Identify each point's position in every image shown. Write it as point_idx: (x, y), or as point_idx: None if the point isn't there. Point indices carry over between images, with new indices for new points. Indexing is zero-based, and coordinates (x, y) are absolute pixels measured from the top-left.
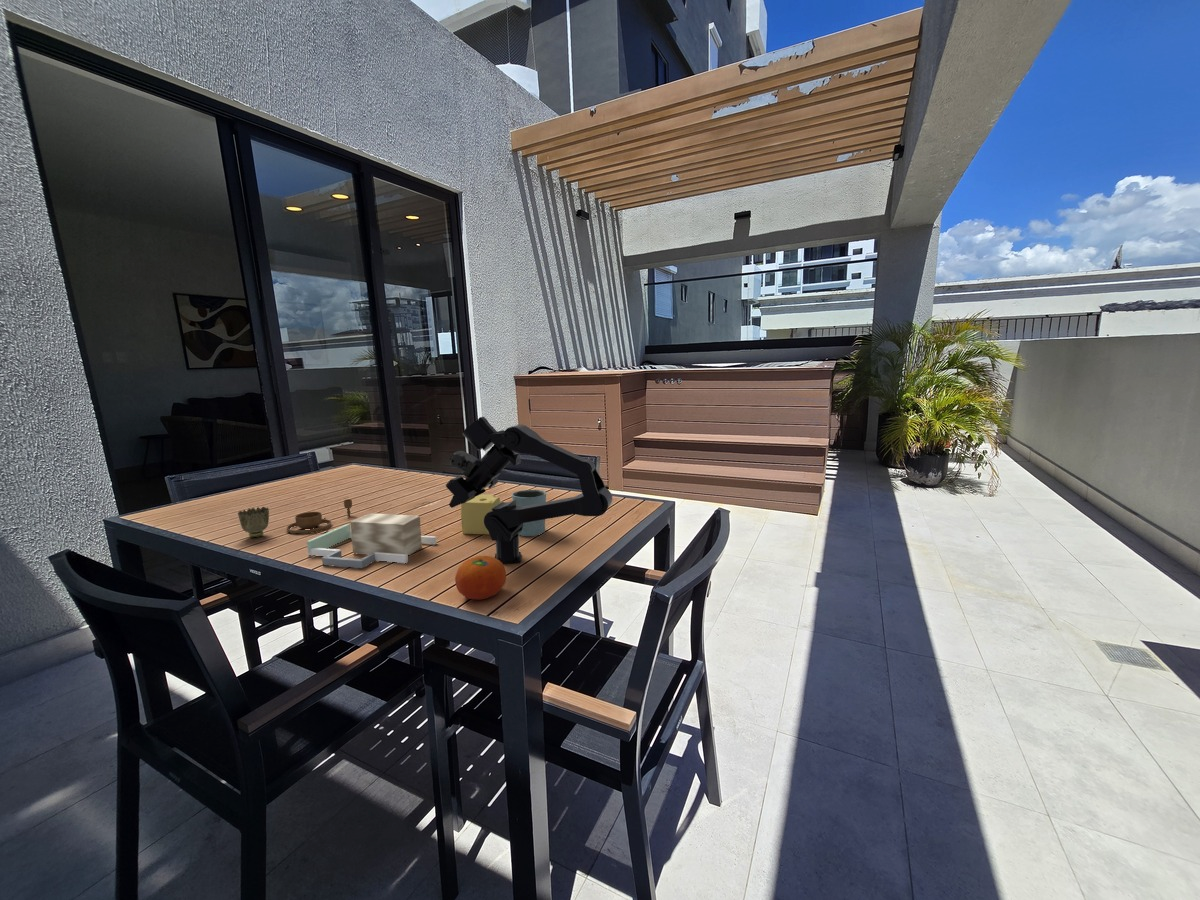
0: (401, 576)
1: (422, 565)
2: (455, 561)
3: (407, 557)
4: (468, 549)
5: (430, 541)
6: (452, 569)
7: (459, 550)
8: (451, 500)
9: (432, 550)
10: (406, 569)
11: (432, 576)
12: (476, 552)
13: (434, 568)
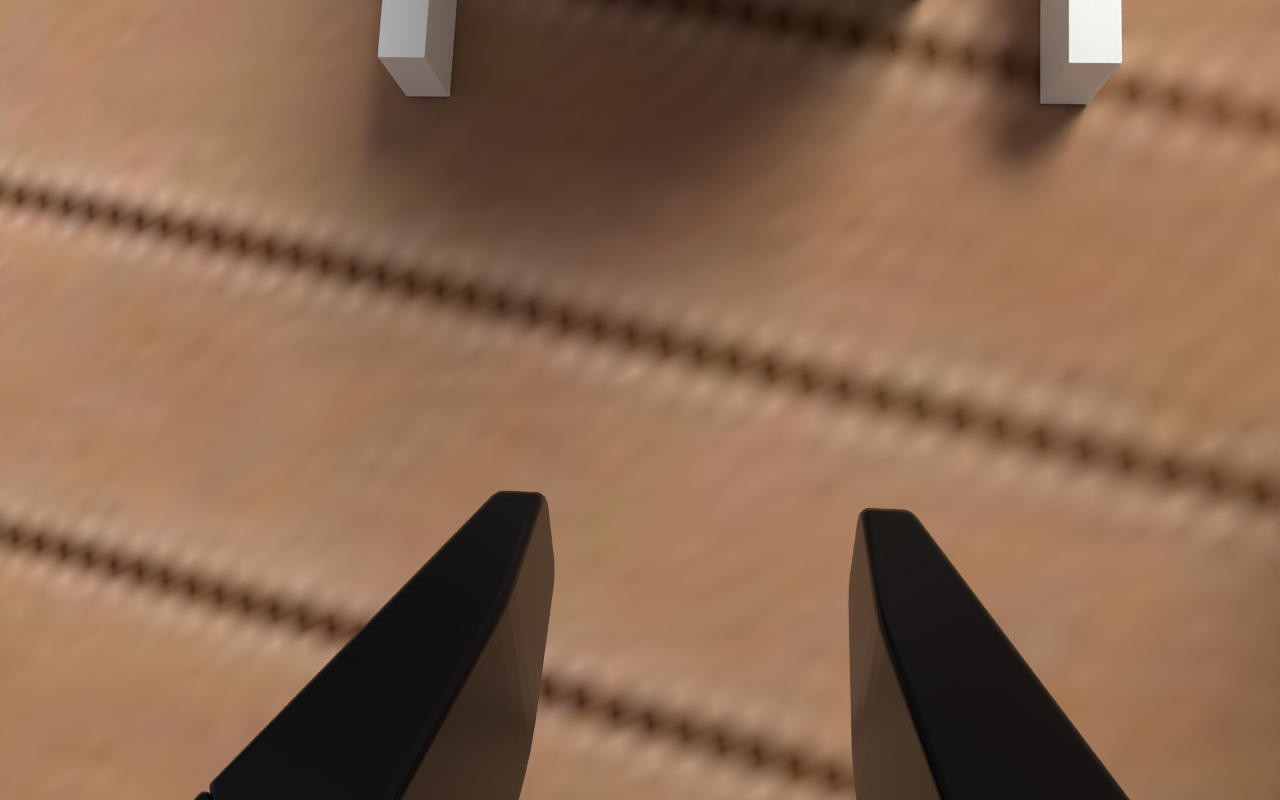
0: (89, 237)
1: (380, 298)
2: None
3: (427, 73)
4: None
5: (1052, 30)
6: None
7: None
8: (369, 629)
9: (840, 176)
10: (260, 189)
11: (109, 553)
12: None
13: (313, 471)
